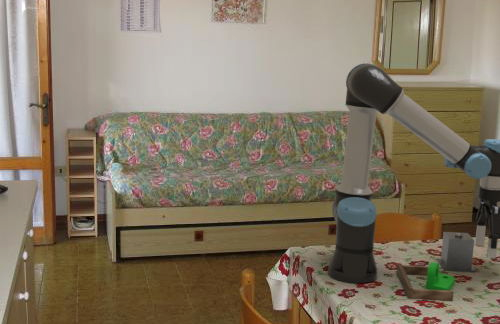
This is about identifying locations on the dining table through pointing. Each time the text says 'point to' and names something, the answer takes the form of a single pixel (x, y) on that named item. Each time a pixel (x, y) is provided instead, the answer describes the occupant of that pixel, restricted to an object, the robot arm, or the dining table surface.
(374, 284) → the dining table surface
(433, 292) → the bay
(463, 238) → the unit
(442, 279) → the mechanical part
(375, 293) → the dining table surface
